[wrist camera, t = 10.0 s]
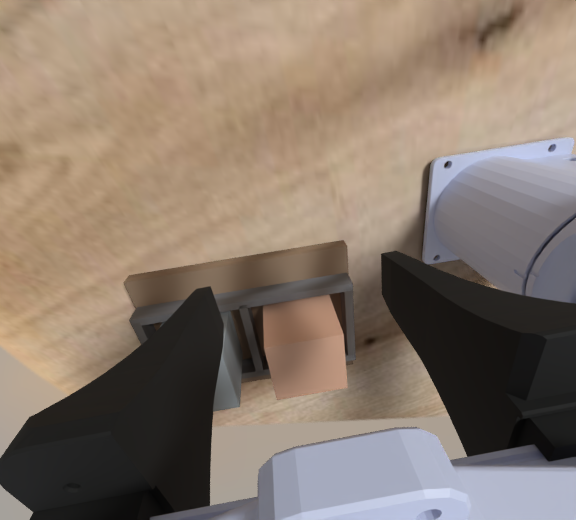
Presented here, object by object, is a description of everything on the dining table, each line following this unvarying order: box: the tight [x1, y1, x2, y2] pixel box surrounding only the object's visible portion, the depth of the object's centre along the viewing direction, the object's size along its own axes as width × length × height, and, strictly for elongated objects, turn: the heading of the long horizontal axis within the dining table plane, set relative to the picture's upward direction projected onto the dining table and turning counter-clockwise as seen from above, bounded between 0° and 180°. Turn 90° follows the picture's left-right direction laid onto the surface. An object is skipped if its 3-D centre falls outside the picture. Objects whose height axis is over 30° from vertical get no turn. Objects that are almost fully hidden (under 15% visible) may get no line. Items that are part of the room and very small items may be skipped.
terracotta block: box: [263, 294, 348, 400], centre depth 22 cm, size 5×5×5 cm
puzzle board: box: [124, 240, 356, 411], centre depth 22 cm, size 16×12×6 cm
